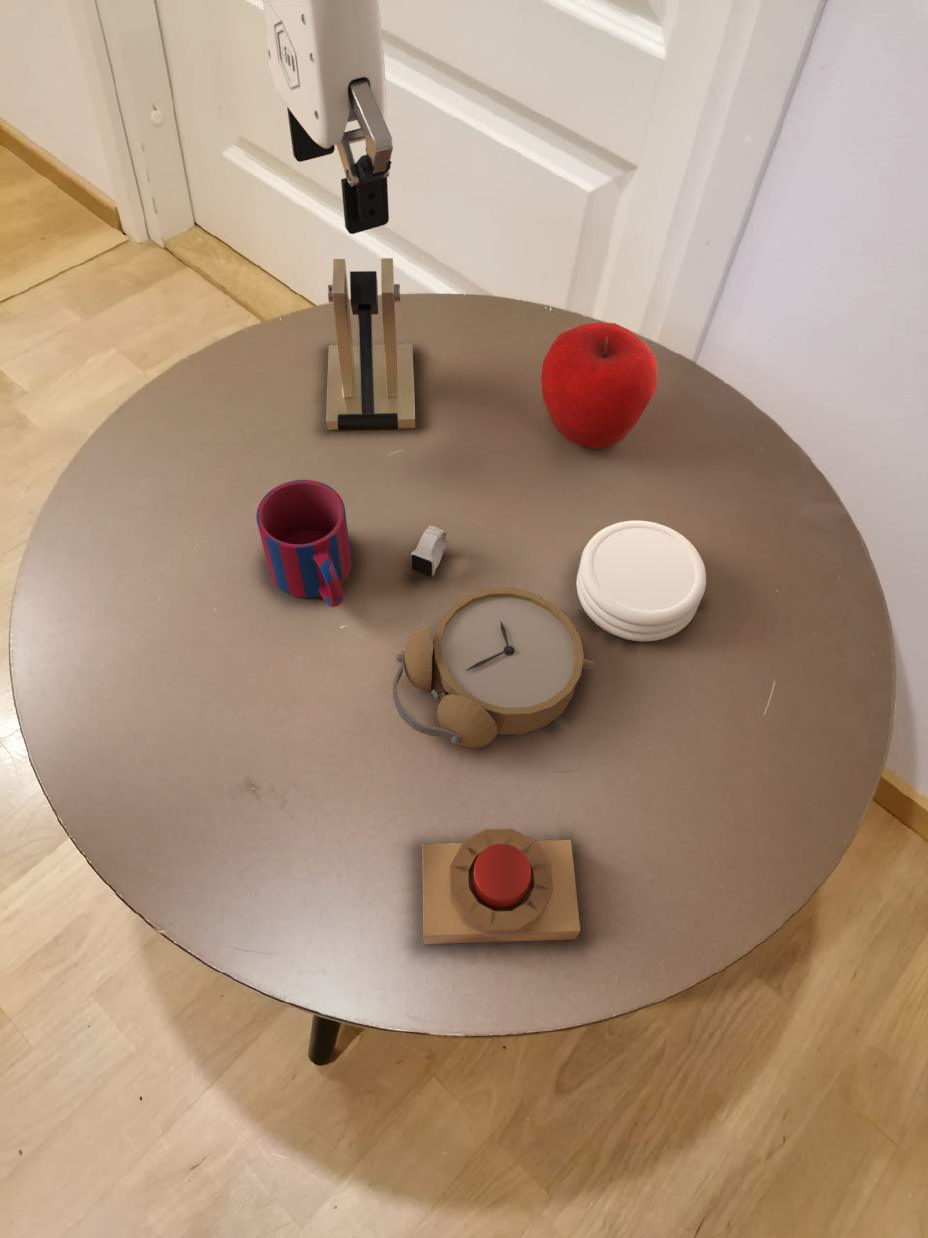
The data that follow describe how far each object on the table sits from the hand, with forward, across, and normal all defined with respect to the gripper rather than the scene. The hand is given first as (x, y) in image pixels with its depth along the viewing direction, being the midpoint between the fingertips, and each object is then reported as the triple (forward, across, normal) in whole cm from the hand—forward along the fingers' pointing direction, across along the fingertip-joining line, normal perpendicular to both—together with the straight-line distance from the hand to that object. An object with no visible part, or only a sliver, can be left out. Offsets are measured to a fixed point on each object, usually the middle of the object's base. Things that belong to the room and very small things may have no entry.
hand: (340, 190), depth 70 cm
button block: (+21, +47, -11) cm, 52 cm away
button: (+17, +47, -11) cm, 51 cm away
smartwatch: (+21, +20, -3) cm, 29 cm away
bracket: (+21, 0, +2) cm, 21 cm away
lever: (+14, +3, 0) cm, 14 cm away
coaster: (+21, +30, +11) cm, 38 cm away
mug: (+21, +17, -12) cm, 30 cm away
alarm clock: (+21, +32, -4) cm, 38 cm away
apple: (+21, +13, +17) cm, 30 cm away
